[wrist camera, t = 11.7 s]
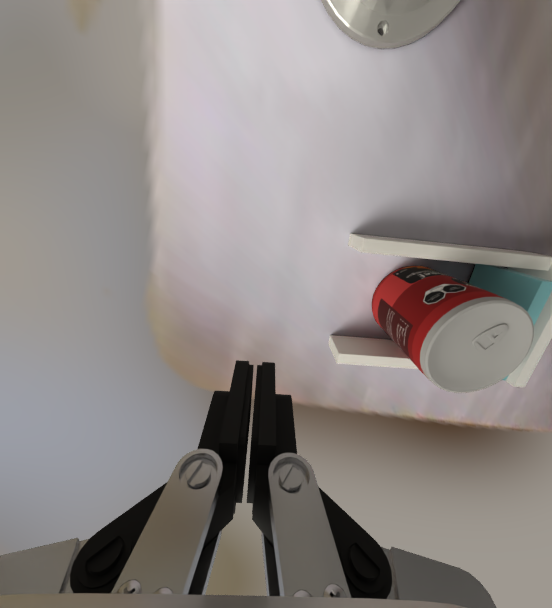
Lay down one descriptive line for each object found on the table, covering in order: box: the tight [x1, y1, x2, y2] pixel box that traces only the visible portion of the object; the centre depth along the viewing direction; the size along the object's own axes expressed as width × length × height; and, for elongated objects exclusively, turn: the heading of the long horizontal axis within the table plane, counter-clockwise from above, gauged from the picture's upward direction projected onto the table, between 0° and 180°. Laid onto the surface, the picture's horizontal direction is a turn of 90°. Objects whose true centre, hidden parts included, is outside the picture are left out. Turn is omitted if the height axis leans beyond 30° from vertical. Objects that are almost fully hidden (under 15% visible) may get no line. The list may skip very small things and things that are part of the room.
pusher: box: [469, 264, 552, 380], centre depth 26 cm, size 10×1×7 cm, turn 174°
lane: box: [329, 233, 552, 387], centre depth 26 cm, size 13×19×6 cm
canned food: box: [372, 266, 534, 393], centre depth 24 cm, size 8×8×11 cm
